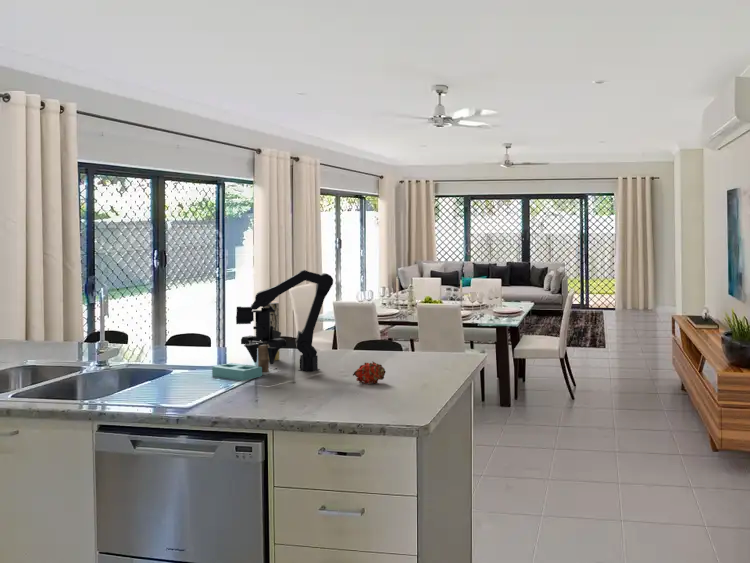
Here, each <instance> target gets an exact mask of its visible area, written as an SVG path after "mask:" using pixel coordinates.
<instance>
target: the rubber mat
mask: <svg viewBox="0 0 750 563" xmlns="http://www.w3.org/2000/svg"><path fill="white" fill-rule="evenodd" d="M278 372H282V370H280V369H272V368H269V372H262V376H265V375H269V374H274V373H278Z"/></svg>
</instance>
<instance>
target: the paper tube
mask: <svg viewBox="0 0 750 563" xmlns="http://www.w3.org/2000/svg"><path fill="white" fill-rule="evenodd" d="M270 306H272V308H273V309H275V312H270V326H273V330H276V331H278V332H280V303H279V301H275V300H273V301H272V302H271V303H270V304H268V305H267V306H265V307H262V308H269V307H270ZM262 345H268V348H269V347H270V346H269V344H262ZM279 360H280V349H279V350H278V352H277V354H276V357H275V360H274V362H275V361H279Z"/></svg>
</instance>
